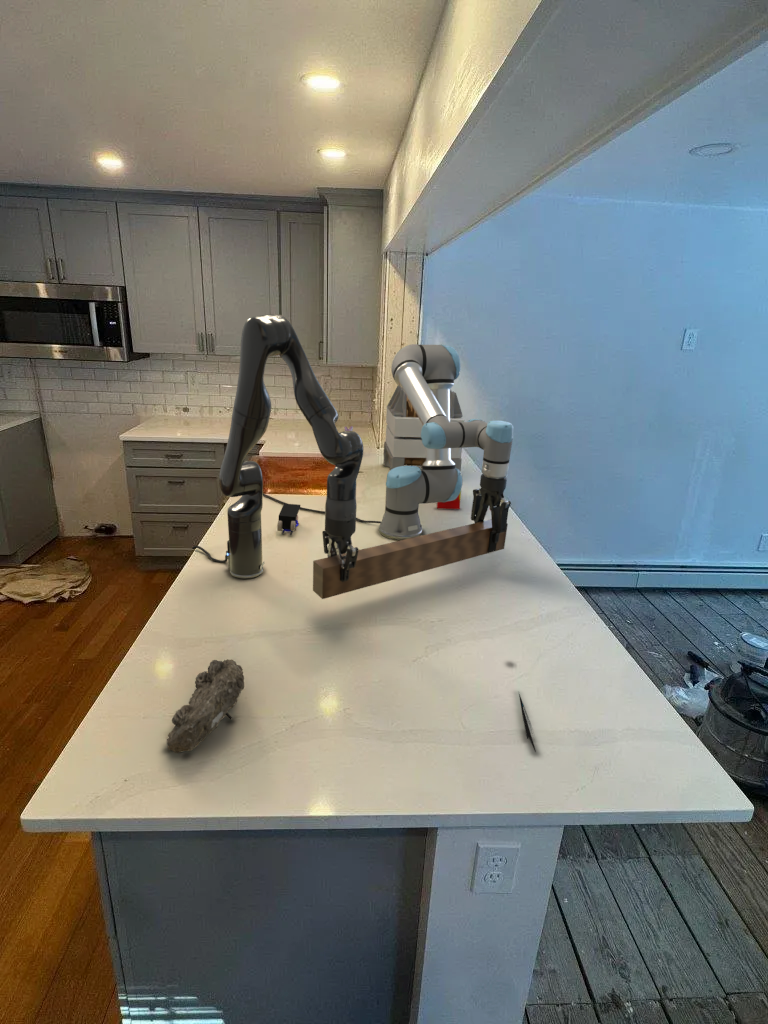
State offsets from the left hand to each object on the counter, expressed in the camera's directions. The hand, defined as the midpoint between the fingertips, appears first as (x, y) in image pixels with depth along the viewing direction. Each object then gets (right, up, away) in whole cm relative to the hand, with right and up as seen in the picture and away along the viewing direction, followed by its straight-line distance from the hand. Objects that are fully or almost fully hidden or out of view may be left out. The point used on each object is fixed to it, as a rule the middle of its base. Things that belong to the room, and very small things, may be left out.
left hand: (338, 575), depth 143 cm
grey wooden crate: (+29, +35, +132) cm, 139 cm away
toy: (+37, +22, +96) cm, 105 cm away
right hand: (+42, +5, +29) cm, 52 cm away
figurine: (-7, +47, +161) cm, 168 cm away
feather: (+39, -23, -28) cm, 54 cm away
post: (+21, +1, +15) cm, 26 cm away
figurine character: (-22, +10, +56) cm, 61 cm away
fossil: (-21, -23, -35) cm, 47 cm away
